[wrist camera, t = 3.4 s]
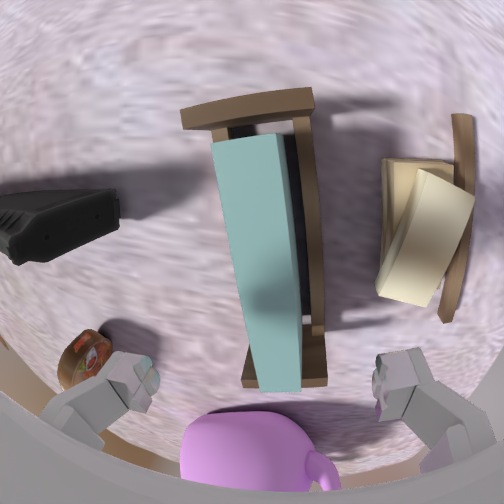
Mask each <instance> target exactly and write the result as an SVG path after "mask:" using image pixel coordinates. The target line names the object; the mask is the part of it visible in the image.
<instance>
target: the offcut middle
mask: <svg viewBox="0 0 504 504" xmlns="http://www.w3.org/2000/svg"><path fill="white" fill-rule="evenodd" d="M386 161H387V231H386V248H385V258H386V256H387V253H388V251H389V249H390V246H391V244H392V241H393V239H394V236H395V234H396V231H397V229H398V226H399V224H400V221H401V218H402V216H403V213H404V210H405V208H406V205H407V202H408V199H409V196H410V193H411V190H412V187H413V184H414V181H415V178H416V174H417V171H418V169H421V170H424V171H426V172H429V173H431V174H433V175H435V176H437V177H439V178H441V179H443V180H445V181H447V182H449V183H451V184H453V174H454V165H452V164H448V163H444V162H432V161H410V160H386ZM441 281H442V279H441ZM441 281H440V283H439V285H438V287H437V289H440V286H441Z"/></svg>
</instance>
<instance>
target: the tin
mask: <svg viewBox="0 0 504 504" xmlns="http://www.w3.org/2000/svg"><path fill="white" fill-rule="evenodd" d="M111 355H112V343H111V341H110V340H109V339H108V338H105V337H104V336H102V335H101V334H99V333H98V332H96V331H94V330H92V329H87V330H84V331H83V332H82V333H81V334H80V335H79V336H77V337H76V338H75V339H74V340H73V341H72V343H71V344H70V345H69V346H68V347H67V348H66V349H65V350H64V352H63V354H62V356H61V358H60V361H59V364H58V371H57V375H58V380H59V383H60V385H61V388H62V391H63V392H64V391H66V390H68V389H70V388H72V387H73V386H75V385H77V384H79V383H81V382H83V381H85V380H87V379H88V378H90V377H92V376H95V377H96V375H97V374H98V373H99V371H100V370H101V369H102V367H103V366H104V365H105V363H106V362H107V361H108V359H109V358H110V357H111Z"/></svg>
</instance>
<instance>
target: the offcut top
mask: <svg viewBox="0 0 504 504" xmlns="http://www.w3.org/2000/svg"><path fill="white" fill-rule="evenodd" d="M475 199H476V197H474V196H473V195H471V194H469V193H467V192H466V191H464V190H462V189H460V188H458V187H457V186H455V185H453V184H451V183H449V182H447V181H445V180H443V179H441V178H439V177H437V176H435V175H433V174H431V173H429V172H426V171H424V170H421V169H418V171H417V174H416V178H415V181H414V184H413V187H412V190H411V193H410V196H409V199H408V202H407V205H406V208H405V210H404V213H403V216H402V218H401V221H400V224H399V226H398V229H397V231H396V234H395V236H394V239H393V241H392V244H391V246H390V249H389V251H388V253H387V256H386V258H385V260H384V262H383V265H382V267H381V269H380V271H379V273H378V276H377V278H376V280H375V282H374V286H375V288H376V291H377V293H378V296H381V297H385V298H389V299H393V300H397V301H401V302H406V303H410V304H414V305H418V306H422V307H427V305H428V303H429V301H430V300H431V298H432V296H433V294H434V293H435V291H436V289H437V287H438V285H439V283H440V281H441V279H442V277H443V276H444V274H445V272H446V270H447V268H448V265H449V263H450V261H451V259H452V257H453V255H454V253H455V250H456V248H457V246H458V244H459V241H460V239H461V237H462V234H463V232H464V229H465V227H466V224H467V222H468V219H469V216H470V214H471V211H472V208H473V205H474V202H475Z"/></svg>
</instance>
